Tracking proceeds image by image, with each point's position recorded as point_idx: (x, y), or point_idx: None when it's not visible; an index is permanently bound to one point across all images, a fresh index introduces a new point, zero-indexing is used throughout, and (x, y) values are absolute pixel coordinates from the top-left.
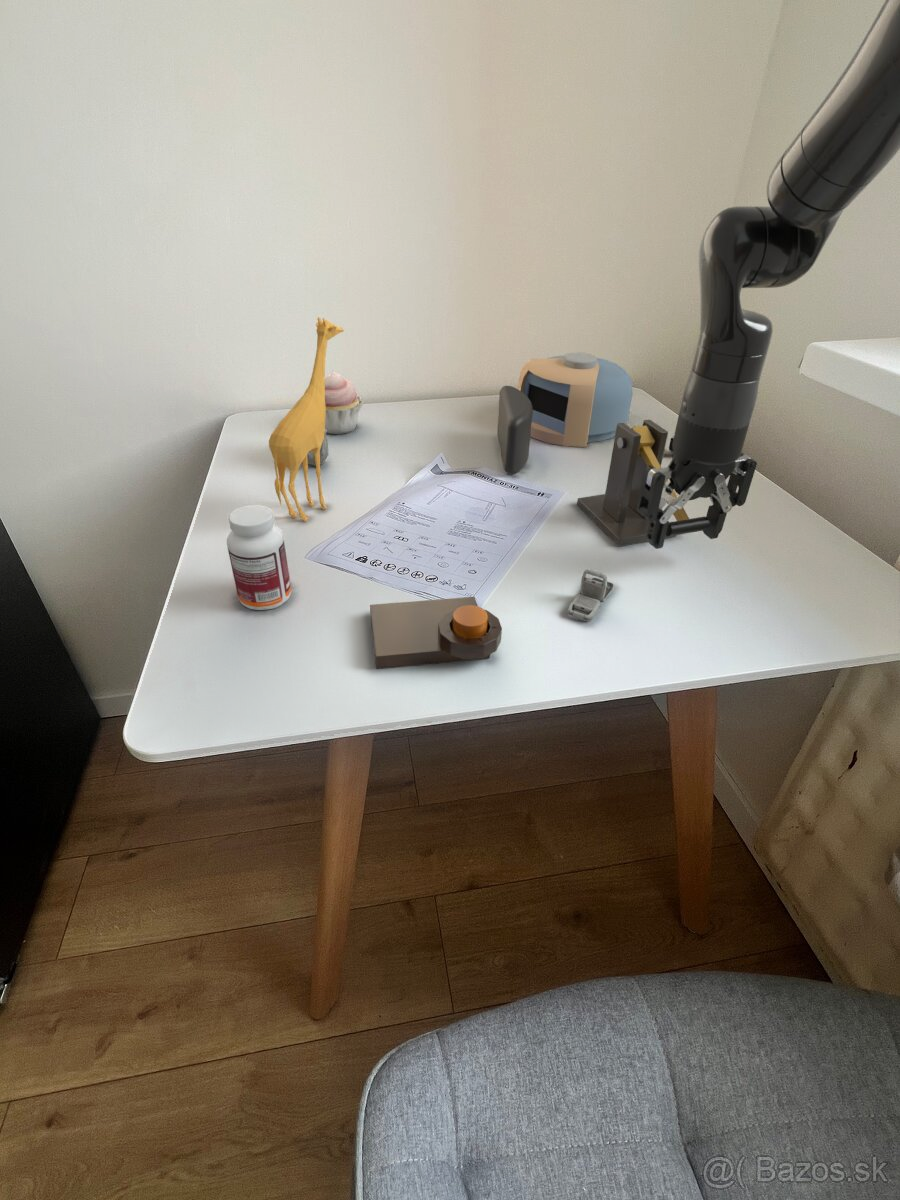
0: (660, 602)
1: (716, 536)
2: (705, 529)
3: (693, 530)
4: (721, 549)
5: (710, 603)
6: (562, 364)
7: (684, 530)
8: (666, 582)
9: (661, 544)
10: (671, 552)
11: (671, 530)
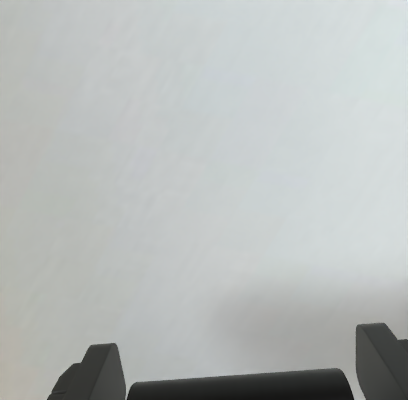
0: (378, 134)
1: (96, 348)
2: (147, 382)
3: (216, 381)
4: (47, 344)
5: (220, 96)
6: None
7: (270, 384)
8: (298, 228)
9: (376, 333)
10: (201, 358)
11: (350, 391)
